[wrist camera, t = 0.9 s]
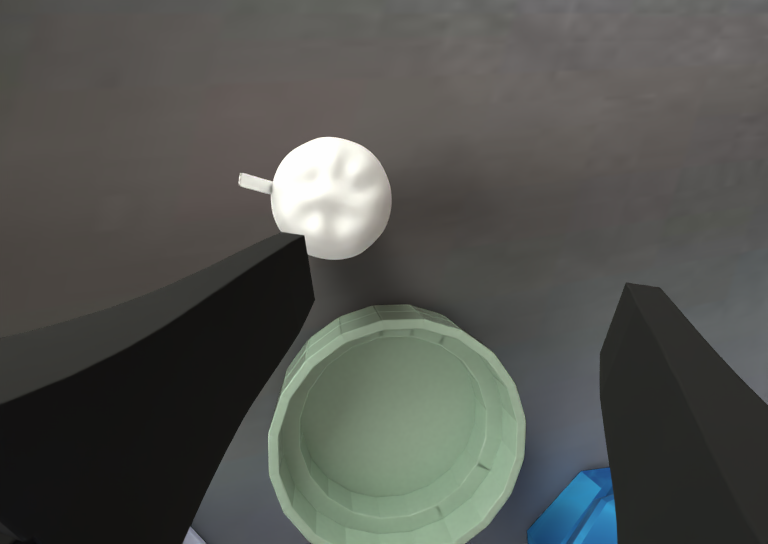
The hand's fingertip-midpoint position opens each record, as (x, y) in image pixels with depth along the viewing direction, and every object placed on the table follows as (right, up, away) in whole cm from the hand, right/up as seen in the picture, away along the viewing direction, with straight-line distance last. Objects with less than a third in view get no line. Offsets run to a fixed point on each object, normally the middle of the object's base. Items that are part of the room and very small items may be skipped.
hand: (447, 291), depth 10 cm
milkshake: (-5, +4, +15) cm, 16 cm away
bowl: (-1, -8, +16) cm, 18 cm away
